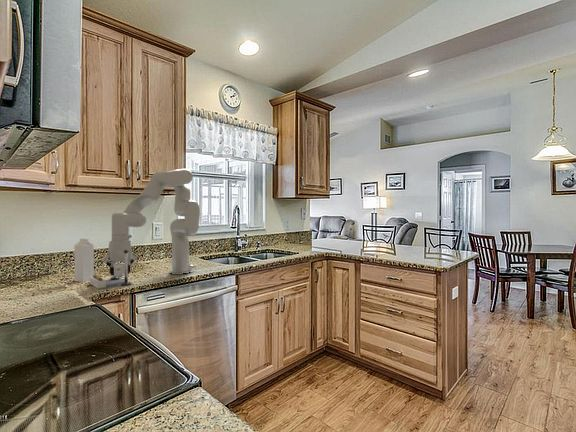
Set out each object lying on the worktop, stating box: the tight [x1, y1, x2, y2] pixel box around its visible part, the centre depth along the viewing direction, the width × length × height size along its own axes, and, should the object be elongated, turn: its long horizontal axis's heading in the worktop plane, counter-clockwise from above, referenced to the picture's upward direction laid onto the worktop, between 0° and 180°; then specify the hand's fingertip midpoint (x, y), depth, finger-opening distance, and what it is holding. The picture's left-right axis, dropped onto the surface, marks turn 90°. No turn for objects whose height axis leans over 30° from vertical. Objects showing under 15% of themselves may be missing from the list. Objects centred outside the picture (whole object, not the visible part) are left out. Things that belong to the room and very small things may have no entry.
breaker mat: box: [87, 274, 134, 291], centre depth 158 cm, size 15×21×5 cm
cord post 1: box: [110, 261, 120, 280], centre depth 167 cm, size 4×4×17 cm
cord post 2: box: [121, 249, 132, 287], centre depth 155 cm, size 4×4×17 cm
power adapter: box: [114, 263, 125, 278], centre depth 161 cm, size 11×5×6 cm, turn 20°
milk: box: [73, 238, 95, 283], centre depth 165 cm, size 6×6×22 cm
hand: (120, 273), depth 161 cm, fingers closed on power adapter, 6 cm apart
